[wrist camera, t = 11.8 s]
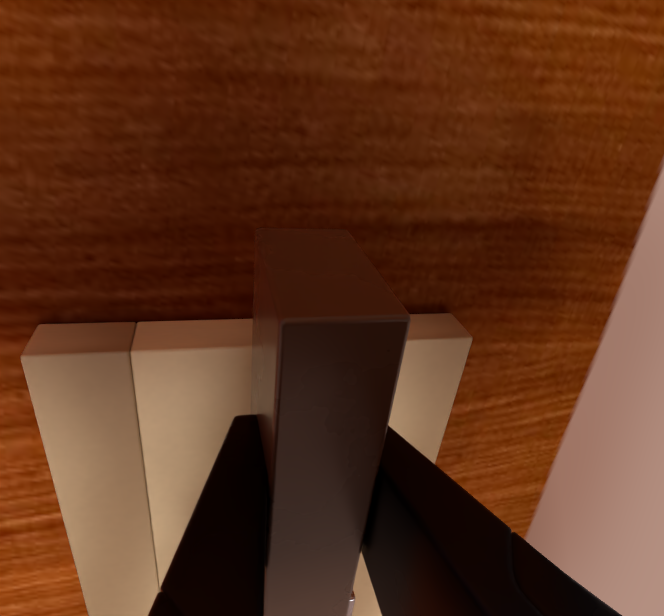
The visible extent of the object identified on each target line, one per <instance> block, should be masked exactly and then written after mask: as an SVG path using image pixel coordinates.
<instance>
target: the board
mask: <svg viewBox="0 0 664 616" xmlns="http://www.w3.org/2000/svg"><path fill="white" fill-rule="evenodd" d="M410 318H411V323H410V327H409V332H408V336H407V341H406V346H405V350H404V355H403V359H402V364H401V369H400V373H399V378H398V382H397V387H396V392H395V396H394V401H393V405H392V410H391V415H390V419H389V424H388V425H389V426H390V427H391V428H392V429H393V430H395V431H396V432H397V433H398V434H399V435H400V436H402V437H403V438H404V439H405V440H406V441H408V442H409V443H410V444H411V445H412V446H414V447H415V448H416V449H417V450H418V451H419V452H421V453H422V454H423V455H424V456H425V457H427V458H428V459H429V460H430V461H431V462H432V463H434V464H435V461H436V458H437V455H438V451H439V448H440V445H441V441H442V438H443V435H444V432H445V428H446V425H447V422H448V418H449V415H450V412H451V408H452V405H453V402H454V399H455V395H456V392H457V389H458V385H459V382H460V379H461V376H462V372H463V369H464V366H465V362H466V359H467V356H468V353H469V349H470V346H471V343H472V339H473V338H472V336H471V335H470V334H469V333H468V331H467V330H466V329H465V328H464V327H463V326H462V325H461V324H460V322H459V321H458V320H457V319H456V318H455V317H454V316H453V315H452V314H451V313H440V314H410ZM252 325H253V319H223V320H185V321H148V322H138V323H137V324H136V323H135V322H106V323H69V324H40V325H38V326H37V328H36V330H35V331H34V333H33V335H32V337H31V338H30V340H29V342H28V344H27V345H26V347H25V349H24V351H23V352H22V354H21V356H20V359H21V363H22V366H23V370H24V374H25V378H26V381H27V385H28V389H29V393H30V396H31V400H32V404H33V408H34V411H35V415H36V419H37V423H38V427H39V430H40V434H41V438H42V442H43V445H44V449H45V453H46V457H47V460H48V464H49V468H50V472H51V475H52V479H53V483H54V487H55V491H56V494H57V498H58V502H59V506H60V509H61V513H62V517H63V521H64V524H65V528H66V532H67V536H68V540H69V543H70V547H71V551H72V555H73V558H74V562H75V566H76V570H77V573H78V577H79V581H80V585H81V588H82V592H83V596H84V600H85V604H86V607H87V611H88V615H89V616H148V614H149V612H150V609H151V607H152V605H153V602H154V600H155V598H156V595H157V593H159V592H161V591H160V587H161V585H162V582H163V580H164V578H165V575H166V573H167V571H168V568H169V566H170V564H171V561H172V559H173V557H174V554H175V552H176V550H177V548H178V545H179V543H180V541H181V538H182V536H183V534H184V531H185V529H186V527H187V524H188V522H189V520H190V517H191V515H192V513H193V510H194V508H195V506H196V504H197V501H198V499H199V497H200V494H201V492H202V490H203V487H204V485H205V483H206V480H207V478H208V476H209V473H210V471H211V469H212V466H213V464H214V462H215V460H216V457H217V455H218V453H219V450H220V448H221V446H222V443H223V441H224V439H225V436H226V434H227V432H228V429H229V427H230V425H231V422H232V420H233V418H234V417H235V416H237V415H248V414H250V410H251V368H252ZM353 591H354V595H355V603H354V607H353V612H352V616H382V614H381V611H380V608H379V605H378V602H377V599H376V595H375V592H374V589H373V586H372V583H371V580H370V577H369V574H368V571H367V567H366V564H365V561H364V558H363V555H362V552H361V553H360V557H359V562H358V567H357V571H356V576H355V580H354V585H353Z"/></svg>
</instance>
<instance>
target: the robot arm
mask: <svg viewBox="0 0 664 616" xmlns="http://www.w3.org/2000/svg"><path fill="white" fill-rule="evenodd" d="M266 508H267V470H266V463H265V457H264V452H263V446H262V441H261V435H260V430H259V424H258V419H257V415H256V414H248V415H237V416H235V417H234V418H233V420H232V422H231V425H230V427H229V429H228V432H227V434H226V436H225V439H224V441H223V443H222V446H221V448H220V450H219V453H218V455H217V457H216V460H215V462H214V464H213V466H212V469H211V471H210V473H209V476H208V478H207V480H206V483H205V485H204V487H203V490H202V492H201V494H200V497H199V499H198V501H197V504H196V506H195V508H194V510H193V513H192V515H191V517H190V520H189V522H188V524H187V527H186V529H185V531H184V534H183V536H182V538H181V541H180V543H179V545H178V548H177V550H176V552H175V554H174V557H173V559H172V561H171V564H170V566H169V568H168V571H167V573H166V575H165V578H164V580H163V582H162V585H161V587H160V591H161V592H159V593H157V595H156V598H155V600H154V602H153V605H152V607H151V609H150V612H149V614H148V616H264V590H265V549H266ZM361 552H362V555H363V558H364V561H365V564H366V567H367V571H368V574H369V577H370V580H371V583H372V586H373V589H374V592H375V595H376V599H377V602H378V605H379V608H380V611H381V614H382V616H622V615H620V614H619V613H618V612H616V611H615V610H613V609H612V608H611V607H610V606H608V605H607V604H605V603H604V602H603V601H601V600H600V599H599V598H597V597H596V596H595V595H593V594H592V593H591V592H589V591H588V590H587V589H585V588H584V587H583V586H581V585H580V584H579V583H577V582H576V581H575V580H573V579H572V578H571V577H569V576H568V575H567V574H565V573H564V572H563V571H562V570H560V569H559V568H558V567H557V566H555V565H554V564H553V563H552V562H551V561H549V560H548V559H547V558H545V557H544V556H543V555H542V554H541V553H539V552H538V551H537V550H536V549H534V548H533V547H532V546H531V545H530V544H529V543H527V542H526V541H525V540H524V539H523V538H521V537H520V536H519V535H518V534H517V533H515V532H512V533H511V529H510V528H509V527H508V526H507V525H506V524H505V523H503V522H502V521H501V520H500V519H499V518H498V517H496V516H495V515H494V514H493V513H492V512H490V511H489V510H488V509H487V508H486V507H485V506H483V505H482V504H481V503H480V502H479V501H477V500H476V499H475V498H474V497H473V496H472V495H470V494H469V493H468V492H467V491H466V490H464V489H463V488H462V487H461V486H460V485H458V484H457V483H456V482H455V481H454V480H453V479H451V478H450V477H449V476H448V475H447V474H445V473H444V472H443V471H442V470H441V469H440V468H438V467H437V466H436V465H435V464H434V463H432V462H431V461H430V460H429V459H428V458H427V457H425V456H424V455H423V454H422V453H421V452H419V451H418V450H417V449H416V448H415V447H414V446H412V445H411V444H410V443H409V442H408V441H406V440H405V439H404V438H403V437H402V436H400V435H399V434H398V433H397V432H396V431H395V430H393V429H392V428H391V427H390V426H389V425H388V428H387V433H386V438H385V442H384V447H383V451H382V456H381V461H380V465H379V470H378V475H377V479H376V484H375V488H374V493H373V498H372V502H371V507H370V511H369V516H368V521H367V525H366V530H365V534H364V539H363V544H362V548H361Z"/></svg>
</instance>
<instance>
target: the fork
mask: <svg viewBox="0 0 664 616" xmlns="http://www.w3.org/2000/svg"><path fill="white" fill-rule="evenodd" d="M410 323H411V318H410V314H409V313H408V311H407V310H406V309H405V307H404V306H403V305H402V303H401V302H400V301H399V299H398V298H397V297H396V295H395V294H394V292H393V291H392V290H391V288H390V287H389V286H388V284H387V283H386V282H385V280H384V279H383V278H382V276H381V275H380V273H379V272H378V271H377V269H376V268H375V267H374V265H373V264H372V263H371V261H370V260H369V258H368V257H367V256H366V254H365V253H364V252H363V250H362V249H361V248H360V246H359V245H358V244H357V242H356V241H355V239H354V238H353V237H352V235H351V234H350V233H349V231H348V230H345V229H306V228H257V229H256V231H255V241H254V283H253V325H252V368H251V410H250V414H256V415H257V419H258V424H259V430H260V435H261V441H262V446H263V452H264V457H265V463H266V470H267V508H266V549H265V590H264V616H352V612H353V607H354V603H355V595H354V591H353V585H354V580H355V576H356V571H357V567H358V562H359V557H360V553H361V548H362V544H363V539H364V534H365V530H366V525H367V521H368V516H369V511H370V507H371V502H372V498H373V493H374V488H375V484H376V479H377V475H378V470H379V465H380V461H381V456H382V451H383V447H384V442H385V438H386V433H387V428H388V424H389V419H390V415H391V410H392V405H393V401H394V396H395V392H396V387H397V382H398V378H399V373H400V369H401V364H402V359H403V355H404V350H405V346H406V341H407V336H408V332H409V327H410Z"/></svg>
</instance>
